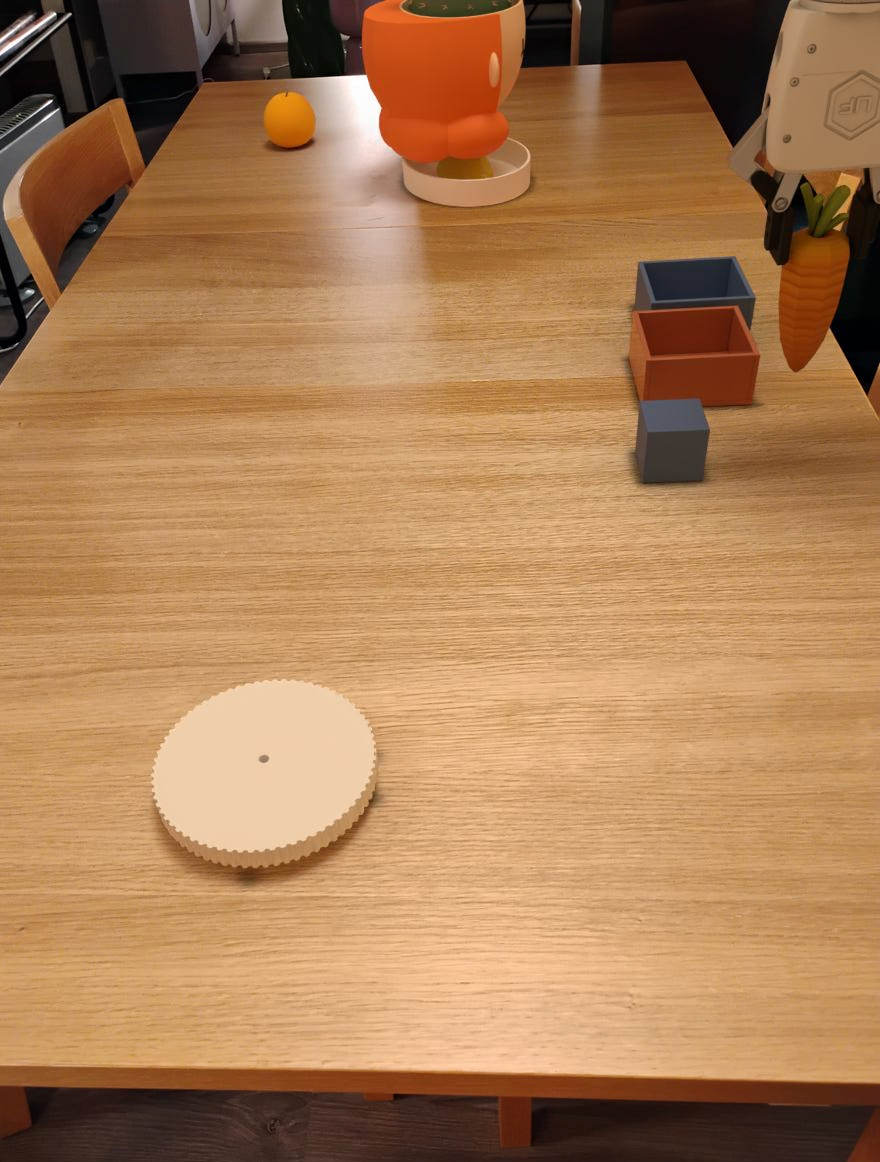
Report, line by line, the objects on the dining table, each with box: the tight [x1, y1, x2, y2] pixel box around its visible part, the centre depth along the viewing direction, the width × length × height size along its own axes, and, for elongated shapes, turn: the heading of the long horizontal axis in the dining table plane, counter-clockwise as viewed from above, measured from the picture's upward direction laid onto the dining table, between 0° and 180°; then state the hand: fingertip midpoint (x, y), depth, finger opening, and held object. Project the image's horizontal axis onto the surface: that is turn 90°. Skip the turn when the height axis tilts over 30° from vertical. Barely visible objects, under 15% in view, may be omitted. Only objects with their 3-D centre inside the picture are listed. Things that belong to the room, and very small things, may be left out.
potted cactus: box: [361, 0, 531, 208], centre depth 131 cm, size 22×22×35 cm
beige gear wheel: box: [150, 678, 379, 869], centre depth 64 cm, size 14×14×2 cm
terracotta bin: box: [628, 306, 761, 408], centre depth 97 cm, size 10×10×5 cm
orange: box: [263, 91, 317, 149], centre depth 159 cm, size 8×8×8 cm
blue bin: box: [633, 255, 757, 332], centre depth 105 cm, size 10×10×5 cm
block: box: [634, 398, 711, 484], centre depth 87 cm, size 5×5×5 cm
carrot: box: [778, 182, 852, 373], centre depth 79 cm, size 5×5×15 cm
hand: (816, 252), depth 77 cm, fingers closed on carrot, 4 cm apart
